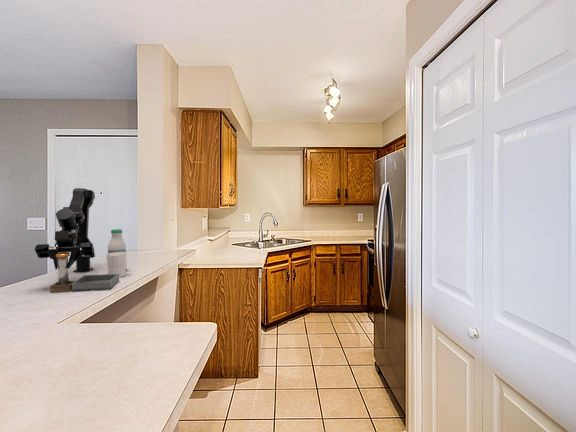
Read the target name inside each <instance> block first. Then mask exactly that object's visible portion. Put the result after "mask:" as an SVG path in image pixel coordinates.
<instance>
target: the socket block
mask: <svg viewBox="0 0 576 432" xmlns="http://www.w3.org/2000/svg"><path fill="white" fill-rule="evenodd" d="M75 281H76V280H69V284H68V285H59V283H58V281H56V282H54V283H53V284H51V285H50V286H49V288H50V289H49V293H50V294H52V293H69V292H72V283H74V282H75Z"/></svg>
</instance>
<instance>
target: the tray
mask: <svg viewBox="0 0 576 432" xmlns="http://www.w3.org/2000/svg"><path fill="white" fill-rule="evenodd" d="M74 281H75V282H74V283H72V291H71V292H72V293H74V292H89V291H90V292H91V290H95V291H106V290H105V289H110V290H112V288H114V286H116V285H117V284H118V282H120V277H119V274H90V275H89V274H87V275H86V274H85V275H82V276H80V278H78V279H77V280H74Z"/></svg>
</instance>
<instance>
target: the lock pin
mask: <svg viewBox="0 0 576 432" xmlns="http://www.w3.org/2000/svg"><path fill="white" fill-rule="evenodd" d="M70 255H71V252H64V253H57V254H56V257H58V268H57V282H58V283H59V285H68V284H69V281H70V280H69V279H70V278H69V269H68V268H67V266H68V261H69V257H70Z"/></svg>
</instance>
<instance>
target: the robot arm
mask: <svg viewBox="0 0 576 432" xmlns="http://www.w3.org/2000/svg"><path fill="white" fill-rule="evenodd" d="M95 197H96V195H95V191H94V190H92V189H87V188H82V187H81V188H79V187H76V188H73V190H72V197H71V199H70V200H71V201H70V204H69V205H68V206H63V207H62V208H61V209H58V211H56V212H55V217H56V221H57V222H58V225H59V227H60V228H61V230H56V231H54V233H55V234H54V241H55V245H50V244H49V243H41V244H36V245H35V247H34V251H35V254H36V255H37V258H39V259H47V258H48V259H50V260H53V264H54V269H55V270H58V257H56V254H57V253H64V252H67V253H70V256H69V257H68V266H67V268H68V270H69V269H70V268H71V267H72V266H73V265H74V264H75V268H76V269H74V270H73V273H81V272H84V273H85V272H91V271H92V270H93V269H94V267H91V259H94V258H95V257H96V254H95V248H94V244H93V242H92V241H91V240H90V239H89V220H90V208H91V207H92V206H93V204H94V200H96V199H95Z"/></svg>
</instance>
